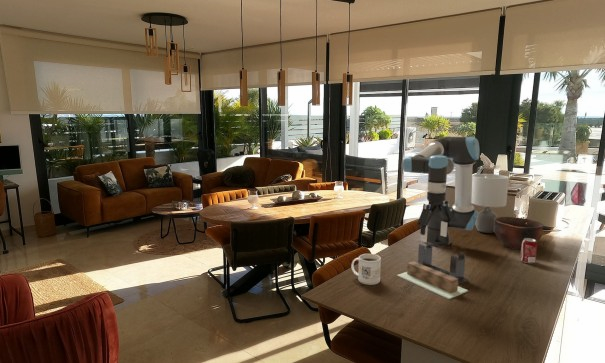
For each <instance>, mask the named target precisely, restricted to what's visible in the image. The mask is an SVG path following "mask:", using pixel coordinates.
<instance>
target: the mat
mask: <svg viewBox="0 0 605 363" xmlns="http://www.w3.org/2000/svg"><path fill="white" fill-rule="evenodd" d="M396 276H397V277H399V278H401V279H403V280H405V281H407V282H410V283H412V284H414V285H416V286H419V287H421V288H423V289H425V290H427V291H429V292H432V293H433V294H436V295H438V296H441V297H442V298H444V299H447V300H451V299H453V298H456V297H458V296H460V295H463V294H465V293H467V292H469V290H468V289H466V288H463V287H461V286H460V285H458V290H457V291H456V292H454V293H450V292H447V291H445V290H443V289H440V288H438V287H436V286H433V285H431V284H429V283H427V282H424V281H422V280H420V279H417V278H415V277H413V276H411V275H408V274H407V271H405V272H402V273H399V274H397V275H396Z"/></svg>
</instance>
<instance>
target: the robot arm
mask: <svg viewBox="0 0 605 363" xmlns="http://www.w3.org/2000/svg"><path fill="white" fill-rule="evenodd" d="M479 158H480V143H479V140H478V139H477V138H476V137H470V136H443V137H438V138H435V139H433V140H432V141H430V142H429V143H427V144H426V146H425V148H423V149H422V150H421V151H419V152H418V153H416V154H415V155H414V156H411V155H410V156H407V155H406V156H404V158H403V159H402V166H401V167H402V171H403V172H406V173H410V174H413V173H414V174H426V175H427V186H426V187H427V190H426V191H427V192H426V193H427V194H426V199H427V201H428V204H427V203H423V205H422V210H421V213H420V215H419V218H418V221H417V223H416V226H418V227H420V242H423V243H424V244H427V242H429V243H432V244H433V246H432V247H446V246H450V244H451V239H450V235H449V228H451V229H459V230H464V231H472V230H474V228H475V227H476V225H475V223H476V219H477V214H478V213H479V211H478V210H476V209H475V206H474V204H472V178H473V165H474V164H476V163H477V160H479ZM453 171H454V176H455V177H454V178H455V179H454V204H452V206H451V205H450V204H449V201H448V200H446V195H447V194H446V191H447V176H448V175H449V174H451V173H452V172H453ZM450 206H451V207H450Z"/></svg>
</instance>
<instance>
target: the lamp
mask: <svg viewBox="0 0 605 363" xmlns="http://www.w3.org/2000/svg"><path fill="white" fill-rule="evenodd" d="M509 178H510V177H509V176H508V175H503V174H496V173H495V174H493V173H476V174H475V173H474V174H472V205H475V206H480V207H484V208H483V209H482V210H480V211H478V214H477V219H476V223H475V228H476V229H477V231H478V232H480V233H483V234H492V233H494V231H493V229H494V225H495V222H494V218H496V217H498V215H497V213H496V212H494V211H493V209H492V208H504V207H506V206H507V202H508V190H509V180H510V179H509Z"/></svg>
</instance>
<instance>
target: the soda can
mask: <svg viewBox="0 0 605 363" xmlns="http://www.w3.org/2000/svg"><path fill="white" fill-rule="evenodd" d="M537 250H538V242H536V240H535V239H532V238H524V240H523V241H522V248H521V250H520V258H519V259H520V261H521V262H522V263H525V264H528V265H531V264H535V263H536V260H537V259H536V258H537Z"/></svg>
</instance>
